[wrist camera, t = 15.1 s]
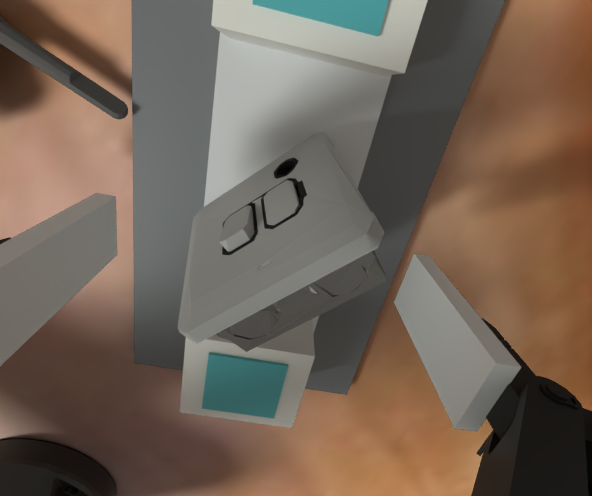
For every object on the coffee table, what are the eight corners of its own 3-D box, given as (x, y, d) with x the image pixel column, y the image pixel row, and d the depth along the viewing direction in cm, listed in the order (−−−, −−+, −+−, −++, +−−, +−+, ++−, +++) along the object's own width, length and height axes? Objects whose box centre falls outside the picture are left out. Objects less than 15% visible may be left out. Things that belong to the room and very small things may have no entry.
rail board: (139, 354, 28) (104, 414, 23) (140, -205, 14) (49, -375, 9) (345, 385, 29) (355, 448, 24) (529, -85, 16) (643, -169, 10)
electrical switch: (323, 126, 18) (358, 184, 10) (363, 198, 21) (418, 290, 13) (193, 211, 21) (141, 312, 13) (244, 267, 23) (226, 383, 15)
